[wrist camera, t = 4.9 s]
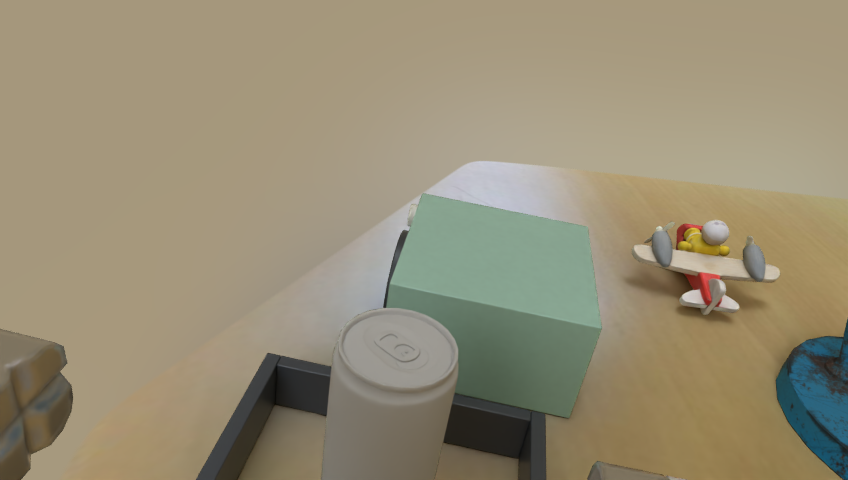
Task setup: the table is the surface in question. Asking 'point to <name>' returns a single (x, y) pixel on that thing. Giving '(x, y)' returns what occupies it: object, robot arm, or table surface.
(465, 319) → the light green boxy block
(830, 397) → the desk lamp
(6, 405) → the robot arm
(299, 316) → the table surface
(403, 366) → the beverage can
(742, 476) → the table surface
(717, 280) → the toy airplane
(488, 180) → the table surface
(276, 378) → the dark gray square frame
